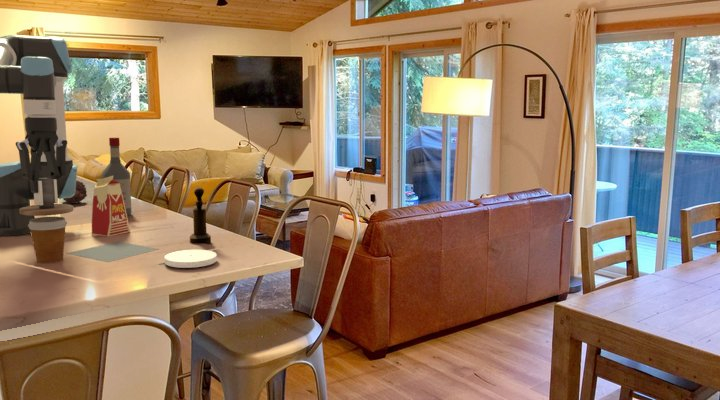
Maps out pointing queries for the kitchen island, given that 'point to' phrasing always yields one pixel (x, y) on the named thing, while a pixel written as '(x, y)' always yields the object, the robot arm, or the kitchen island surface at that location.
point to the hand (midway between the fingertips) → (46, 203)
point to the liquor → (119, 173)
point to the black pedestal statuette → (199, 220)
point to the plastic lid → (190, 258)
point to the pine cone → (78, 193)
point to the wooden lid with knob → (46, 203)
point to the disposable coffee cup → (48, 238)
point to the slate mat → (112, 251)
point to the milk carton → (108, 209)
